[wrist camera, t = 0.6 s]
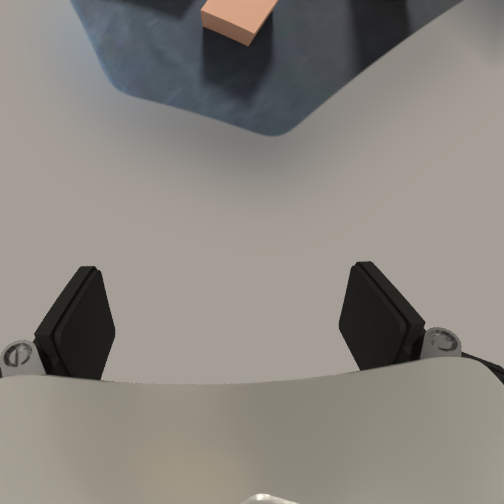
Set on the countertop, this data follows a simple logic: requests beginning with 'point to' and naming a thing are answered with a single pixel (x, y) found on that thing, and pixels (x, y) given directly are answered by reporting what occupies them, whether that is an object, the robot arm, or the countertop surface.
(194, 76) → the countertop surface
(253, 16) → the cube
